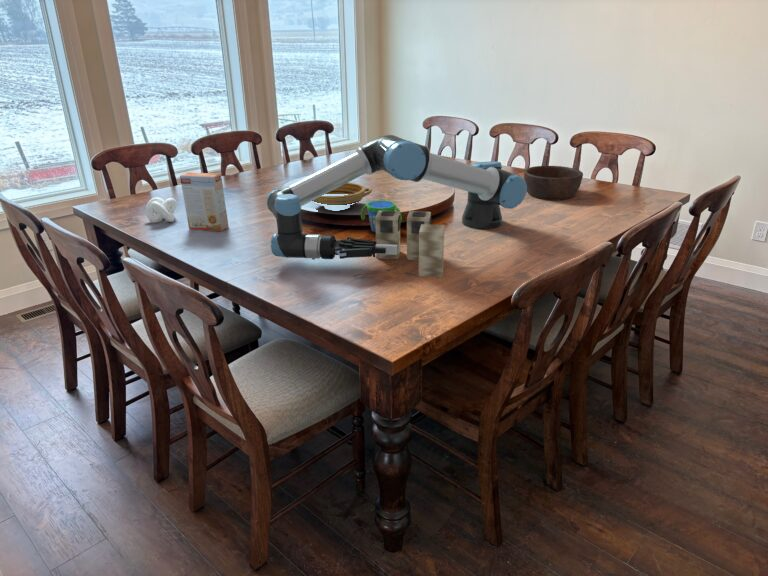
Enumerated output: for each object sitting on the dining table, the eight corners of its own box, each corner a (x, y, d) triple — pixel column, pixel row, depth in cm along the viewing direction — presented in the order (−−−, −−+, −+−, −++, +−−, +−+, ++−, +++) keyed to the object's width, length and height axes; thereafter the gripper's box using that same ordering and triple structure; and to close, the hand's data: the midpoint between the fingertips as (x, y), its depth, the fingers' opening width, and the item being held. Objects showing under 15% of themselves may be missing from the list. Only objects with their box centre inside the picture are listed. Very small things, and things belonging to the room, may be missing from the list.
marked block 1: (430, 252, 184) (431, 211, 178) (429, 260, 178) (430, 217, 172) (409, 251, 185) (409, 210, 179) (406, 259, 179) (406, 217, 173)
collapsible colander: (366, 197, 247) (366, 179, 244) (377, 212, 226) (377, 193, 222) (300, 202, 242) (298, 184, 238) (304, 218, 220) (303, 199, 217)
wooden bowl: (587, 201, 235) (591, 178, 231) (528, 202, 236) (530, 178, 232) (570, 187, 258) (573, 165, 254) (517, 187, 259) (518, 165, 254)
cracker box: (229, 227, 212) (221, 173, 203) (221, 232, 207) (213, 176, 198) (197, 224, 215) (188, 171, 207) (188, 229, 210) (179, 175, 201)
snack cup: (406, 229, 206) (406, 203, 202) (393, 238, 198) (392, 210, 193) (370, 223, 213) (369, 197, 209) (356, 231, 205) (355, 205, 200)
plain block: (443, 267, 172) (444, 225, 166) (441, 276, 166) (443, 232, 160) (420, 267, 173) (421, 224, 167) (418, 275, 167) (419, 231, 161)
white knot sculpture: (167, 214, 228) (163, 193, 225) (187, 218, 223) (183, 197, 219) (143, 222, 220) (139, 200, 216) (164, 226, 214) (159, 204, 210)
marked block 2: (401, 251, 186) (400, 210, 180) (398, 259, 179) (398, 216, 173) (379, 250, 187) (378, 209, 181) (376, 258, 180) (375, 216, 174)
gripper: (327, 250, 178) (399, 253, 175) (316, 265, 167) (394, 269, 163) (325, 228, 175) (399, 231, 172) (315, 242, 164) (394, 245, 160)
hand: (397, 249), depth 168 cm, fingers closed
